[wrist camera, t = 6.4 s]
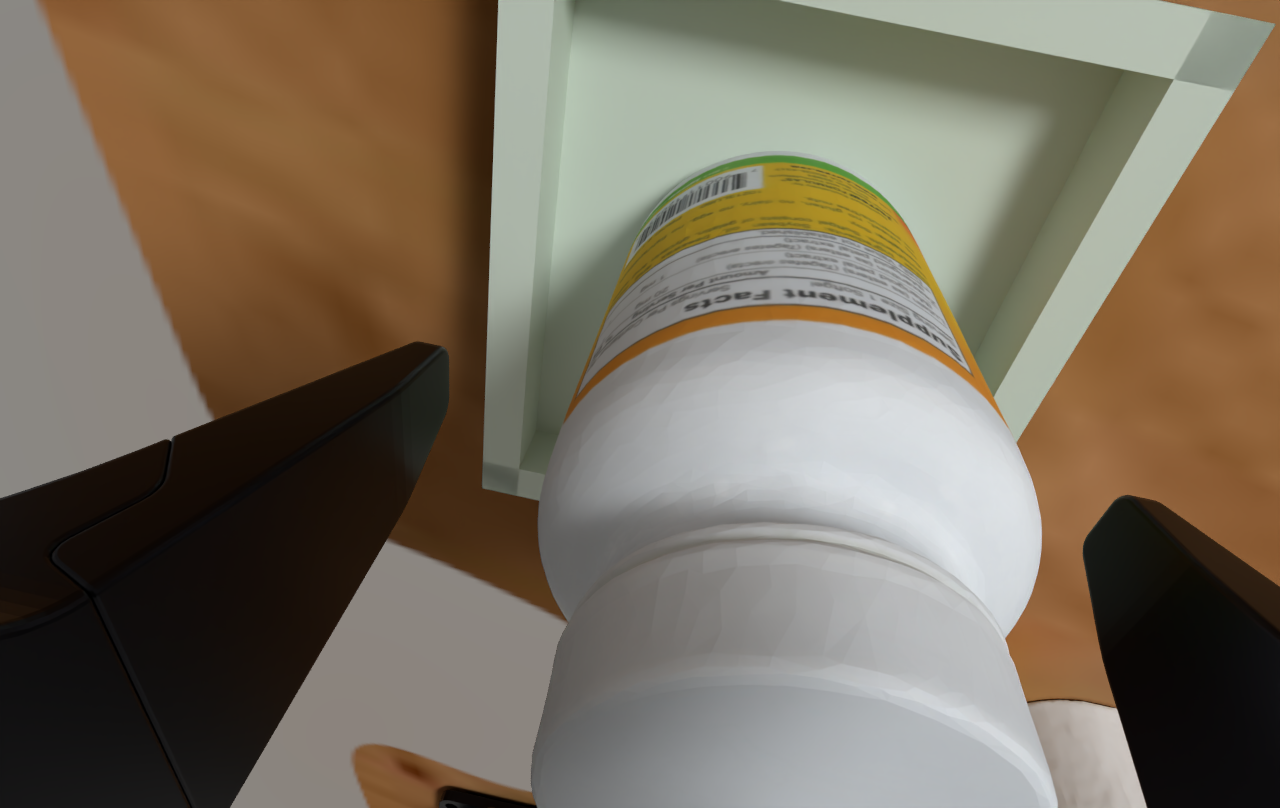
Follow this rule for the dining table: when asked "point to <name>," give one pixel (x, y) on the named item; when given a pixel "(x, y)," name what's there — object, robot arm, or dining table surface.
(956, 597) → the supplement bottle
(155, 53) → the dining table surface
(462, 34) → the dining table surface
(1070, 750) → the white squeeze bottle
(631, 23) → the tray
